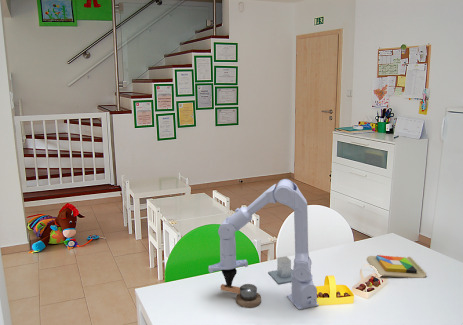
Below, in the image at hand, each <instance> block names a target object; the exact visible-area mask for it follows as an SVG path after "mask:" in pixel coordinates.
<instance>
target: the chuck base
mask: <svg viewBox="0 0 463 325" xmlns="http://www.w3.org/2000/svg"><path fill="white" fill-rule="evenodd" d="M235 303H236V304H237V305H238V306H239V307H242V308H246V309H248V308H249V309H251V308H253V309H254V308H256V307H258V306H260V304H262V295H261V294H260V293H259V292H257V298H256V299H255V300H252V301H245V300H243V299H241V298H240V294H238V293H236V295H235Z"/></svg>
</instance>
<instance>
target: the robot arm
mask: <svg viewBox="0 0 463 325" xmlns="http://www.w3.org/2000/svg"><path fill="white" fill-rule="evenodd" d="M307 201H308V200H307V199H306V198H305V197H304V195H303V193H302V192H301V191H300V189H299V187H298V185H297V184H296V183H295V182H293V181H292V180H290V179H289V178H283V179H281V180H279V181H278V182H277V183H274V184H273V185H272V186H270V187H269V188H268V189H266V190H265V191H264V192H263V193H262V194H260V196H258V197H257V198H256V199H255V200H254V201H253V202H251V203H250V204H249V205H248V206H245V207H244V206H241V207H240V208H239V207H237V208H236V209H235V210H234V213H232V214H231V215H230V216H227V217H225V219H224V220H223V221H222V222H221V223H220V225H219V227H218V230H217V233H218V236H219V239H220V240H219V256H220V257H219V258H220V259H219V260H220V261H219V262H217V263H214V264H211V265H208V272H209V273H210V274H212V273H213V272H218V271H220V272H221V273H222V275H223V277H224V280H225V285H230V286H233V281H234V278H235V276H236V275H237V272H238V270H237V269H236V268H242V267H245V268H247V267H249V262H248V260H247V259H238V260H237V248H236V246H237V243H236V232H238V231H240V230H241V229H242V228H243V227H245V226H246V225H247V224H249V223H250V222H251V221H252V220H253V215H254V214H256V213H257V212H258V211H260V210H261V209H262V208H264V207H265V206H266V205H267V204H277V203H280V204H282V205H284V206H288V207H289V208H290V209H291V210H293V219H294V220H293V221H294V222H293V224H294V225H293V226H294V259H293V268H292V270H293V271H292V282H291V294H287V295H286V298H288V300H289V301H290V302H291V303H292V304H293V305H294V306H295V307H296V308H297V309H298V310H304V309H308V308H313V307H317V306H319V305H320V304H319V303H318V301H317V298H318V297H317V296H318V289H317V287H316V285H315V284H314V281H313V274H312V260H311V258H310V255H309V227H308V226H309V223H308V222H309V221H308V218H309V217H308V216H309V215H308V212H309V211H308V202H307ZM317 303H318V304H317Z"/></svg>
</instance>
